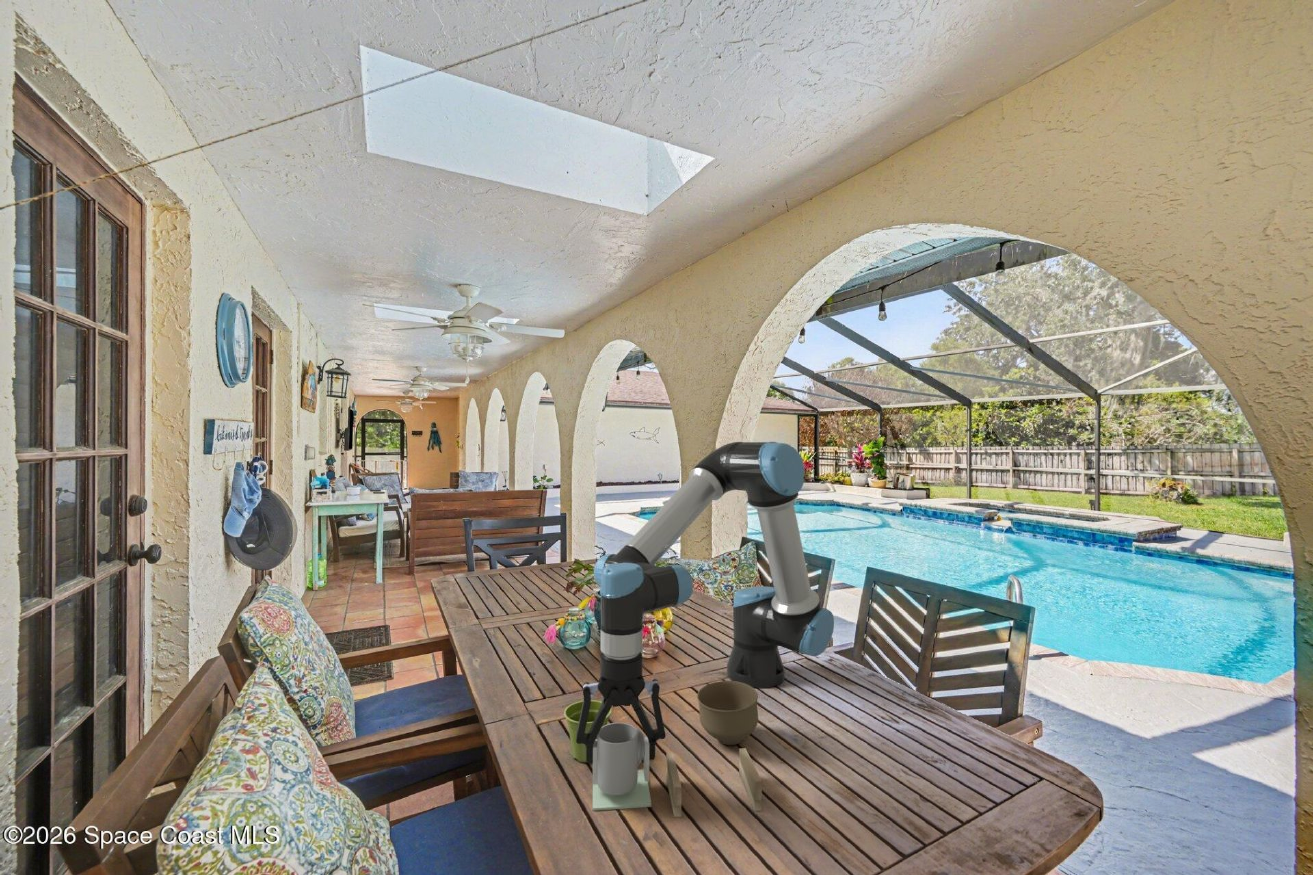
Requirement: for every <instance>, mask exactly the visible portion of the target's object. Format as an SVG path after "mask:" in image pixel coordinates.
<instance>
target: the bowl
mask: <svg viewBox="0 0 1313 875" xmlns="http://www.w3.org/2000/svg"><path fill="white" fill-rule="evenodd" d="M696 697H697V698H696V699H697V702H698V708H699V722H700V725H701V727H702V728H703V729H704V731H705V732H706V733H707V734H708V735H709V736H711V737H712V738H714V739H716V740H718V742H719V743H721V744H723V745H727V746H734V745H738V744H740V743H741V742H742V741H743V740H744V739H746V738H748V737H749V736H750V735H751V734H752V733H753V732H754V731H755V729H756V727H757V725H758V723H759V713H758V712H759V711H758V699H759V694H758V691H757V690H756V689H755V687H751V686H749V685H747V684H745V683H741V682H737V681H732V680H722V681H721V680H719V681H714V682H711V683H708V684H706V685H705V686H703V687H702V688H700V689H699V690H698V692H697V696H696Z"/></svg>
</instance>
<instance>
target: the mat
mask: <svg viewBox="0 0 1313 875" xmlns="http://www.w3.org/2000/svg"><path fill="white" fill-rule="evenodd" d="M649 786H650V785H649V781H645V779H644V769H638V780H637V785H636V786H635V788H634V789H633V790H632V791H630V792H629V793H626V794H623V795H609V794H606V793H604V792H602V791H601V790H600V788H599V787H598V784H597V785H593V784H592V811H593V812H596V811H605V810H606V811H610V810H622V809H626V810H627V809H639V808H652V799H651V794H650V792H651V791H650V787H649Z"/></svg>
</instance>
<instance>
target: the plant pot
mask: <svg viewBox="0 0 1313 875" xmlns="http://www.w3.org/2000/svg"><path fill="white" fill-rule="evenodd" d="M601 704H602V701H601V700H596V699H595V700H594V699H591V705H590V710H589V715H588V719H587V724H586V729H585V733H588V732H589V730H590V728H591V725H592V723H593V721H594V719H595V717H596V715H597V713H598V710H599V708H600V706H601ZM582 705H583V700H580V701H576V702H573V703H571V704H569V705H568V706H567V707H565V709H564V712H563V715H564V718H565V720H566V723H567V726H568V732H569V740H570V748H571V755H572V758H573V759H576V760H577V761H578V762H580V763H587V762H586V745H585V744H582V743H581V744H578V743H577V742H576V735H577V729H578V724H579V719H580V714H581V710H582ZM612 711H613V710H612V708H611V709H610V711H609V712H608V714H607V716H606V718H605V720H604V722H603V725H602V727H603V726H604V725H607V724H608V722H609V719H610V717H611V715H612ZM596 739H597V737H596Z"/></svg>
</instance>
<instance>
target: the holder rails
mask: <svg viewBox="0 0 1313 875" xmlns="http://www.w3.org/2000/svg"><path fill="white" fill-rule="evenodd" d="M738 751H739V752H738V754H739V756H738V758H739V759H738V760H739V761H738V762H739V763H738V766H739V770H738V774H739V778H740V780H741V783H742V785H743V787H744V789H745V792H746V794H747V797H748V798H749V801H750V804H751V806H752V808H753V810H754V812H761V811H762V809H763V808H762V806H763V805H762V804H763V801H762V800H763V796H762V795H763V789H762V788H763V784H762V783H763V782H762V779H761V777H760V774H759V772H758V771H757V768H756V767H755V764H754V762H753V760H752V758H751V757H750V754H749V752H748V751H747V748H746V747H745V748H739V749H738ZM665 758H666V760H665V761H666V762H665V763H666V764H665V765H666V767H665V768H666V770H665V772H666V776H665V777H666V778H665V779H666V780H665V781H666V785H667V790H668V795H669V799H670V803H671V809H672V813H673V817H674V818H679V817H681V818H682V783H681V779H680V775H679V773H678V772H679V771H678V768H677V763H676V760H675V756H674V753H673V752H666V757H665Z"/></svg>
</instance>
